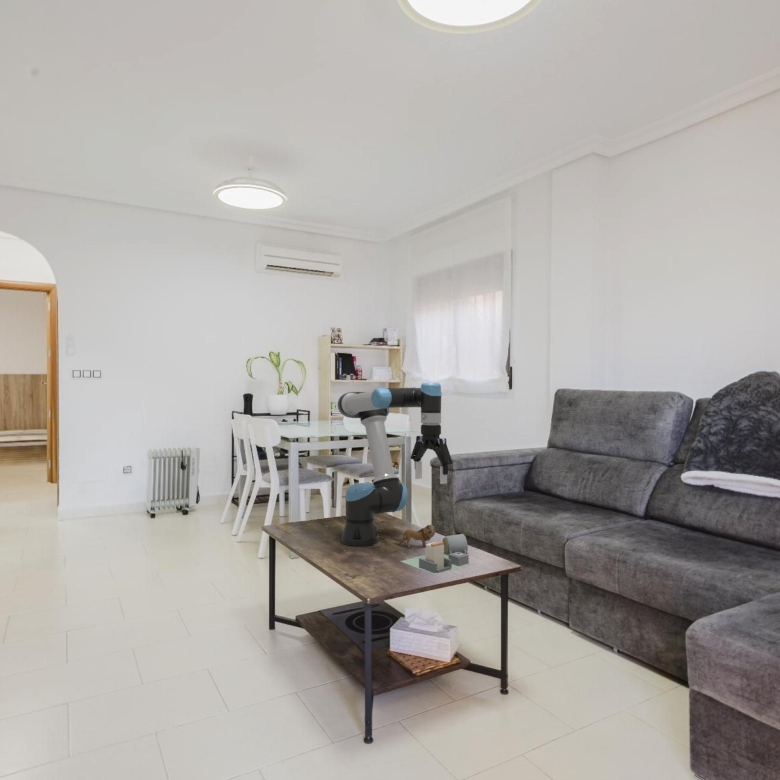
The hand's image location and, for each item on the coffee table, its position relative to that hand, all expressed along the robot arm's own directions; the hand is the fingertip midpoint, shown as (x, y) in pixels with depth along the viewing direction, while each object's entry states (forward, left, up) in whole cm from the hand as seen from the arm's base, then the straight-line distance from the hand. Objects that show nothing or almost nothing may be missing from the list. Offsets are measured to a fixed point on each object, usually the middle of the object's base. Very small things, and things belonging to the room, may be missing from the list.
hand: (430, 481), depth 208 cm
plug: (+12, -9, -27) cm, 31 cm away
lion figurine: (-14, +6, -29) cm, 33 cm away
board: (+8, -5, -29) cm, 30 cm away
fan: (+14, +1, -28) cm, 31 cm away
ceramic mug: (+4, +9, -29) cm, 31 cm away
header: (+12, -9, -28) cm, 31 cm away
